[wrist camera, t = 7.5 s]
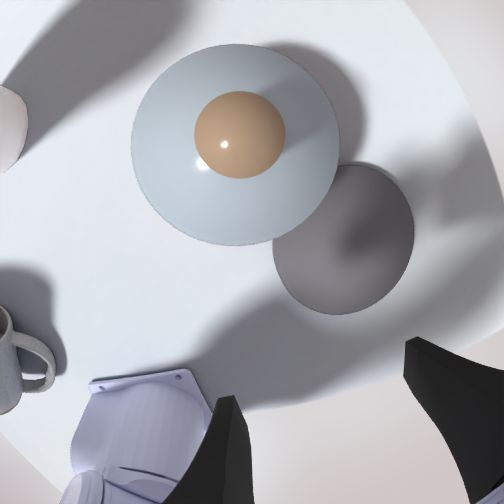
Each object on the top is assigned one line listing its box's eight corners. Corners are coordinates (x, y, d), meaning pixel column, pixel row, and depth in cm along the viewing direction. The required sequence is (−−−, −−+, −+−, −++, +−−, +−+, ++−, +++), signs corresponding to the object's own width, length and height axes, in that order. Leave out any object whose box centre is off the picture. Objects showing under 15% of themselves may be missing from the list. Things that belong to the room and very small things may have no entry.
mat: (289, 327, 21) (291, 331, 20) (255, 184, 17) (256, 185, 17) (412, 286, 21) (416, 290, 20) (399, 154, 18) (404, 154, 17)
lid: (173, 266, 15) (155, 304, 11) (115, 88, 12) (77, 65, 8) (353, 209, 15) (395, 228, 11) (301, 34, 12) (327, -5, 8)
